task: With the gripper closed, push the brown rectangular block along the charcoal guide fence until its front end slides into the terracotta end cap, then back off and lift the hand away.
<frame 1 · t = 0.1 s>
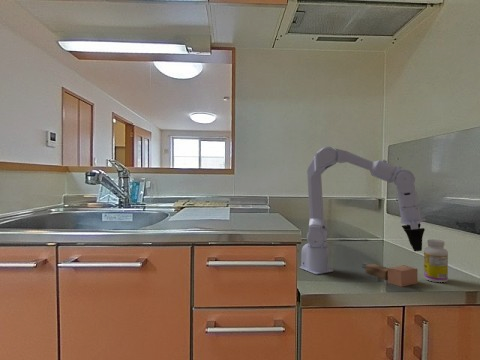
hand: (416, 248, 106), 10 cm above the worktop, tool pointing down, fingers open, 7 cm apart
supplement bottle: (435, 280, 107), on the worktop
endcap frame: (381, 276, 112), on the worktop
brown rectangular block: (379, 276, 113), on the worktop
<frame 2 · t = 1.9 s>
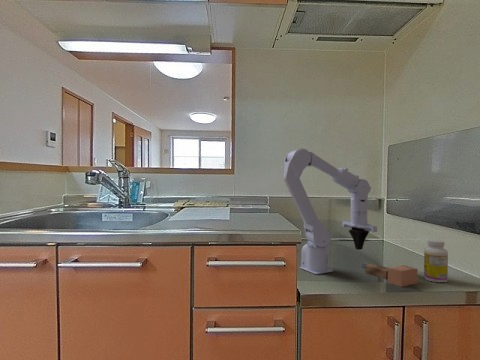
hand: (359, 249, 121), 7 cm above the worktop, tool pointing down, fingers closed
nothing on the worktop moved.
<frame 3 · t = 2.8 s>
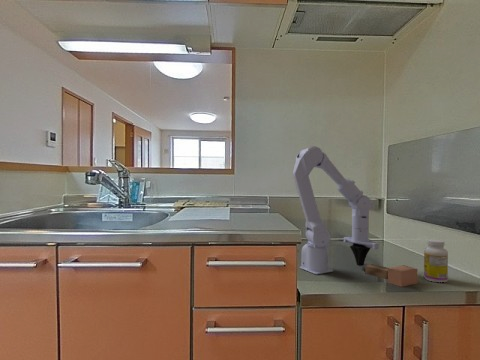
hand: (360, 265, 120), 1 cm above the worktop, tool pointing down, fingers closed
nothing on the worktop moved.
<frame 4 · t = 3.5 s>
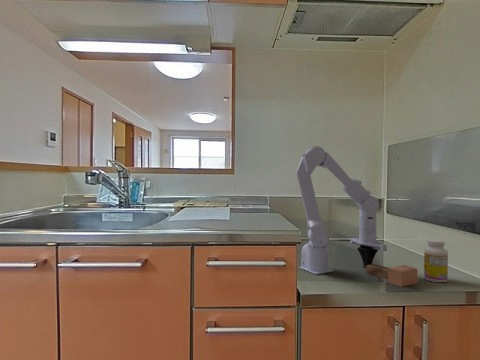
hand: (367, 267, 117), 1 cm above the worktop, tool pointing down, fingers closed
brown rectangular block: (379, 276, 112), on the worktop, touching gripper
everything else where it was.
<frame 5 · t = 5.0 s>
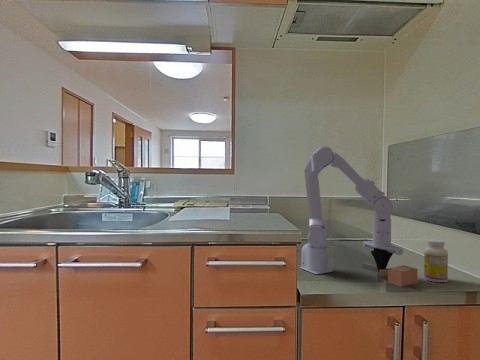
hand: (381, 271, 112), 1 cm above the worktop, tool pointing down, fingers closed
brown rectangular block: (393, 281, 107), on the worktop
everything else where it was.
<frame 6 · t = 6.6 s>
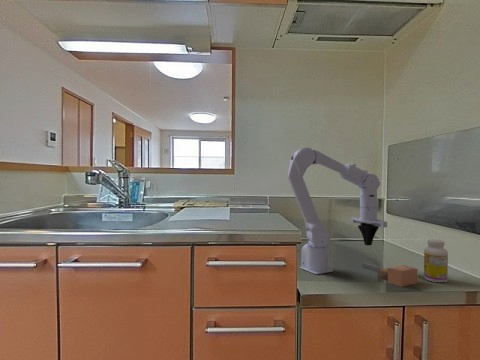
hand: (368, 244, 119), 9 cm above the worktop, tool pointing down, fingers closed
nothing on the worktop moved.
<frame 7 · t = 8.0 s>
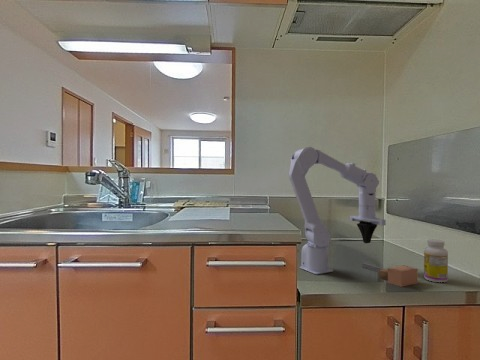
hand: (366, 242, 121), 9 cm above the worktop, tool pointing down, fingers closed
nothing on the worktop moved.
at the end: brown rectangular block 0.6 cm from the target spot, on the worktop; brown rectangular block tilted 0°; the gripper is holding nothing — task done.
